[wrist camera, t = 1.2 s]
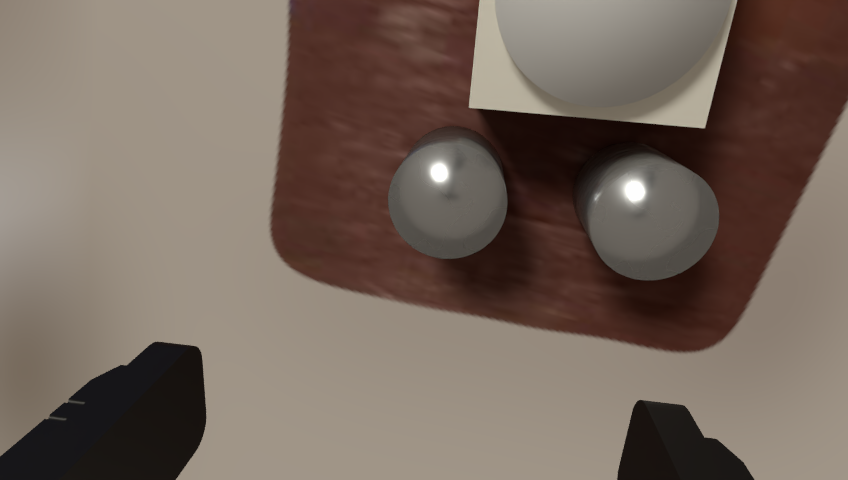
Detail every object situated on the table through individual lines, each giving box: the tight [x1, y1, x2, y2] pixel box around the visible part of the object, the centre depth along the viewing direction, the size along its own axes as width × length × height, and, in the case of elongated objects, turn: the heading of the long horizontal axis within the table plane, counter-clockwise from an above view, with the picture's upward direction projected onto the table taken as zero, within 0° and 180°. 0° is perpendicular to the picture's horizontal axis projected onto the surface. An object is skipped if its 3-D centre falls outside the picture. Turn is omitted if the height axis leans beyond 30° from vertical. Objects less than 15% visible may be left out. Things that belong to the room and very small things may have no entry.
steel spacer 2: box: [573, 142, 719, 280], centre depth 25 cm, size 5×5×5 cm
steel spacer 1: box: [388, 126, 507, 259], centre depth 25 cm, size 5×5×5 cm
